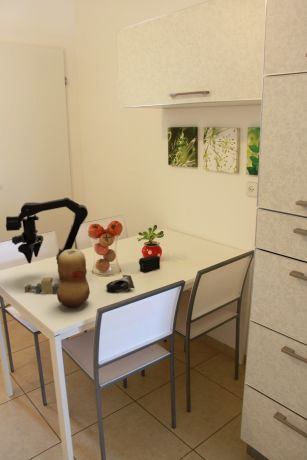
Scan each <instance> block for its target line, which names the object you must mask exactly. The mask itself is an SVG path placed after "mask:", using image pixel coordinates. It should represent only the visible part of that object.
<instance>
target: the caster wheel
mask: <svg viewBox="0 0 307 460" xmlns="http://www.w3.org/2000/svg"><path fill="white" fill-rule="evenodd" d="M105 287H106V290H107V292H109V293H111V292H112V293H113V292H116V293H119V294H122V293H123V294H124V293H125V292H126V291H128V290H131V289H134V290H135V284H134V281H133V278H132V276H131V275H129V274H128V275H127V274H122V278H120V279H115V280H112V281H110V282H108V283H107V284H106V285H105Z"/></svg>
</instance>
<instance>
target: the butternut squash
mask: <svg viewBox="0 0 307 460" xmlns="http://www.w3.org/2000/svg"><path fill="white" fill-rule="evenodd" d="M87 270H88V269H87V262H86V256H85V254H84V252H83V251H82V250H80V249H77V248H72V249H68V250H65V251H63V252H62V253H61V254H60V255H59V257H58V264H57V273H58V277H59V286H58V290H57V294H56V297H57V300H58V302H59V303H61V304H62V306H66V307H72V308H77V307H79V306H81V305H83V304H84V303H85V302H87V301H88V300H89V297H90V294H91V292H90V286H89V282H88V279H87V277H86V276H87V272H88V271H87Z"/></svg>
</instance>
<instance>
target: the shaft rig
mask: <svg viewBox="0 0 307 460" xmlns="http://www.w3.org/2000/svg"><path fill="white" fill-rule="evenodd" d="M59 283H60V282H59ZM59 283H58V282H54V283H53V286H52V290H53V292H52V294H53V295H57V290H58V286H59ZM23 288H24V293H27V294H29V293H30V292H32V291H35V294H36V295H41V294H42V286H41V282H38V283H37V284H36V285H32V284H30V283H28V284H26V285H24V287H23Z"/></svg>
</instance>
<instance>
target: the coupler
mask: <svg viewBox="0 0 307 460" xmlns="http://www.w3.org/2000/svg"><path fill="white" fill-rule="evenodd" d="M40 283H41V286H42V292H41V294H42V295H51V294H53V290H52V286H53V285H54V283H53V277H43V278H42V279H41V281H40Z"/></svg>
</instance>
